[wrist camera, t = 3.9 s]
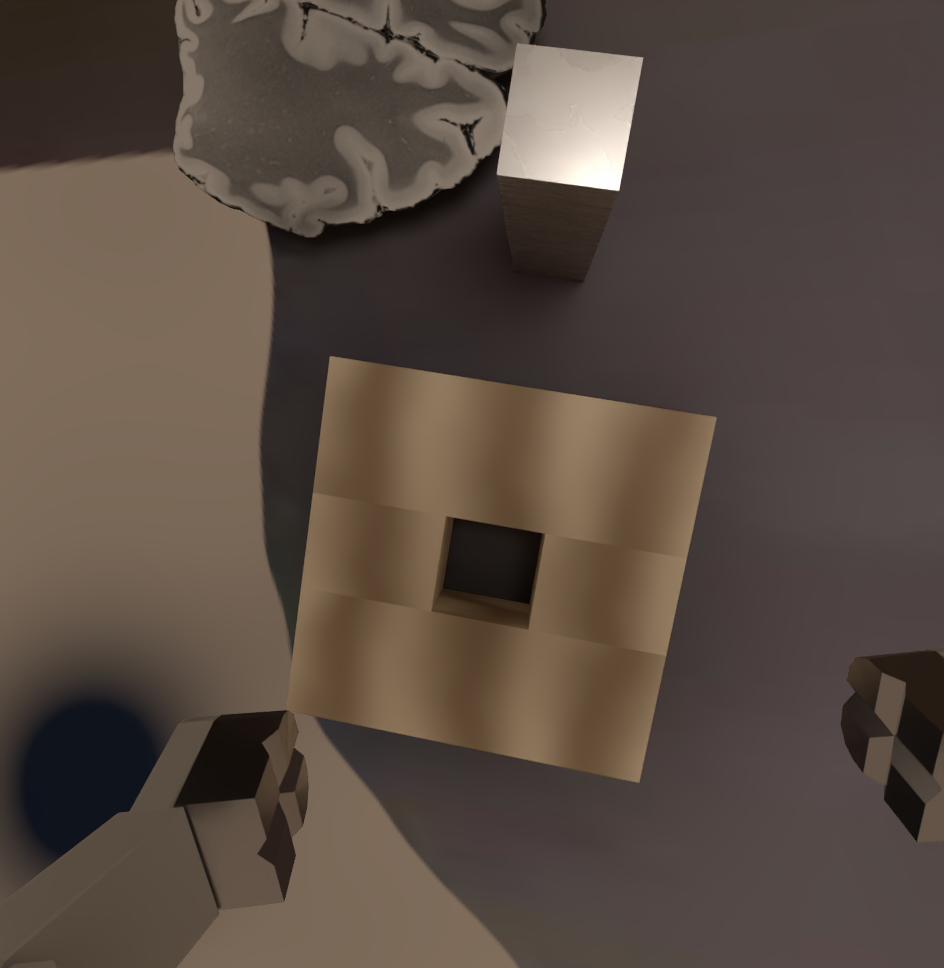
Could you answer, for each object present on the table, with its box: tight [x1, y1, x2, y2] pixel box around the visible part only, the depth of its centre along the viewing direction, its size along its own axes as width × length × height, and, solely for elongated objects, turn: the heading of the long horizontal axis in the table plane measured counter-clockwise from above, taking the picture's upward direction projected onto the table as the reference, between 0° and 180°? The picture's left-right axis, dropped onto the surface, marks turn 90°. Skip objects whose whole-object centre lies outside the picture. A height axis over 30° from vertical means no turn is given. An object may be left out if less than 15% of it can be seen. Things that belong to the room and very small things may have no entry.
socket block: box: [286, 356, 717, 783], centre depth 32 cm, size 18×18×4 cm
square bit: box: [497, 43, 643, 282], centre depth 25 cm, size 4×4×14 cm
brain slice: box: [173, 0, 547, 238], centre depth 31 cm, size 20×17×3 cm
